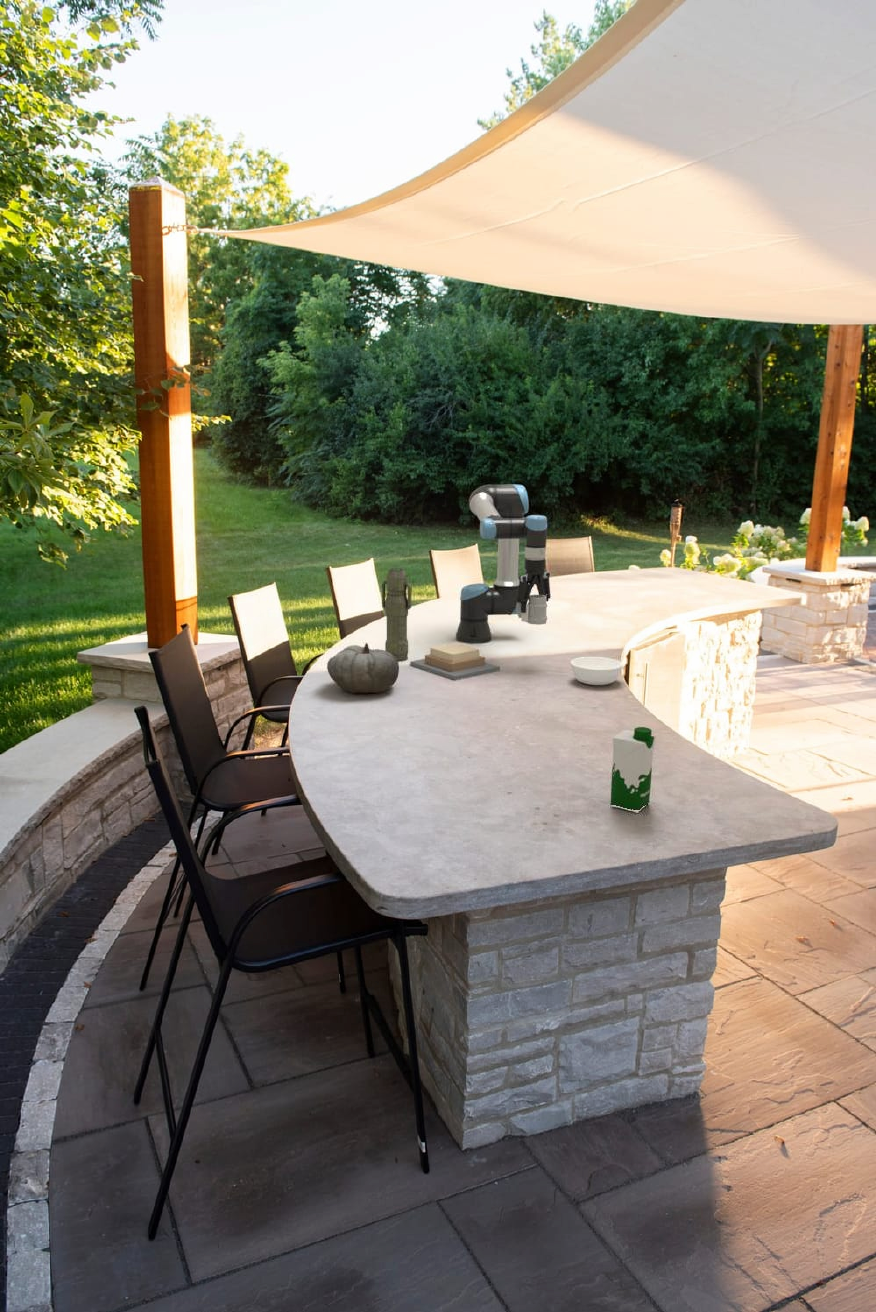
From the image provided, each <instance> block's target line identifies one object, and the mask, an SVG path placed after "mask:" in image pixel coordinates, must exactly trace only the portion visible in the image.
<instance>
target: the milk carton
mask: <svg viewBox="0 0 876 1312" xmlns="http://www.w3.org/2000/svg"><path fill="white" fill-rule="evenodd" d="M612 742H613V743H612V749H613V751H612V765H611V766H612V767H611V785H610V789H611V790H610V806H611V805H616V806H620V807H623V808H627V809H631V810H632V809H633V810H640V809H641V808H642V807H643V806H645V805H647V804H648V803H649V804H650V796H651V788H652V787H651V784H652V771H653V758H654V757H653V755H654V748H655V743H656V734H652V729H651V728H648V727H644V726H638V727H634V730H630V729H624V730H622V731H621V732H619V733H618V734H616V735H615V736H613V737H612ZM647 806H648V805H647Z"/></svg>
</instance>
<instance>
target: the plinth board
mask: <svg viewBox="0 0 876 1312" xmlns="http://www.w3.org/2000/svg"><path fill="white" fill-rule="evenodd" d="M429 651H430V652H429V654H426V655H424V658H422V659H418V660H417V659H416V660H412V661H410V662H409V666H411V667H414V668H417V669H420V670H422V671H426V672H428V671H429V672H428V673H431V672H432V674H434V673H435V674H434V675H438V676H439V677H444V678H446V679H449V678H451V679H450V680H452V679H453V681H458V680H457V679H459V680H462V679H461V678H463V679H468V678H471V677H477V676H480V675H485V674H490V673H493V672H499V671H501V669H500V668H501V666H499V665H495V664H493V663H489V662H486V657H485V656H482V655H480V649H479V648H476V647H472V646H469V645H465V644H464V643H463V644H462V643H459V642H454V643H448V644H444V645H439V646H438V645H437V646H432V647H430V650H429Z"/></svg>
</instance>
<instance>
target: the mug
mask: <svg viewBox="0 0 876 1312" xmlns="http://www.w3.org/2000/svg"><path fill="white" fill-rule="evenodd" d="M527 604H529V611H528V622H526V623H527V624H529V625H537V626H539V625H546V623H547V620H548V616H547V607H548V603H547V601H546V596H544V595H539V594H530V596H529V599H528V602H527ZM516 609H517V610H516V612H517V614H516V615H517V616H518V618H519V619H522V613H521V603H518V602H517V605H516Z"/></svg>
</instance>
